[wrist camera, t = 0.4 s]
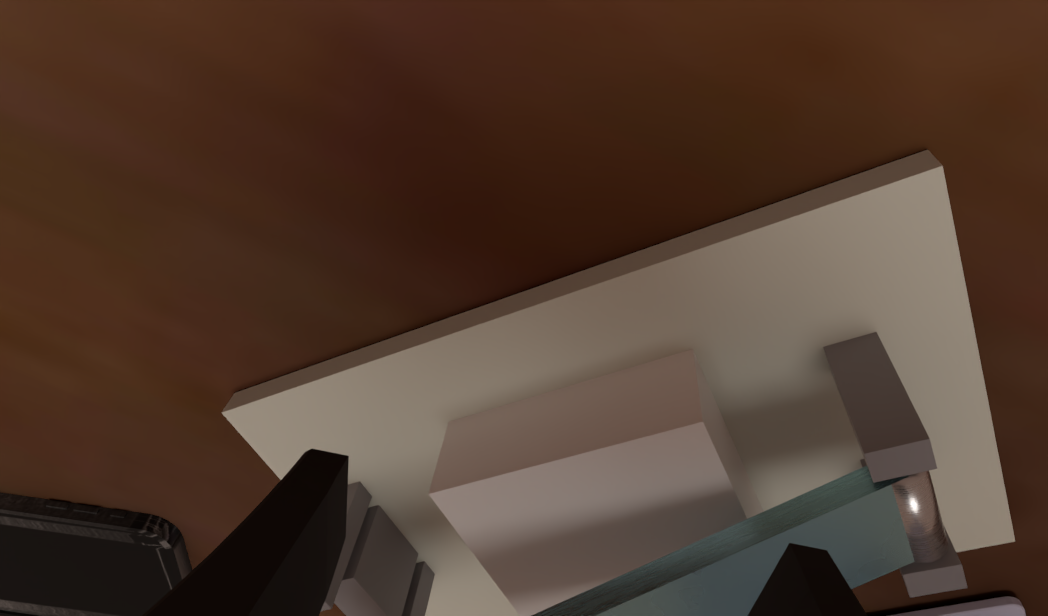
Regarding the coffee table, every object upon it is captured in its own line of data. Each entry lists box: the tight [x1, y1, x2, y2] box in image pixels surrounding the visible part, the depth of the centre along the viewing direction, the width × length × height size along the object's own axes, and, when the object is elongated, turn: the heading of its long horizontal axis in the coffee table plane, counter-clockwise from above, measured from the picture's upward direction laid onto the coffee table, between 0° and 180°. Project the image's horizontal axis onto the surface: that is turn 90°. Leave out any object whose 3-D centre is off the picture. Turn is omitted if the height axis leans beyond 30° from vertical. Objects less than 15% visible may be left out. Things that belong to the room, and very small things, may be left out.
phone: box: [0, 493, 192, 616], centre depth 32 cm, size 8×1×15 cm
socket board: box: [222, 150, 1015, 616], centre depth 22 cm, size 14×22×5 cm, turn 116°
